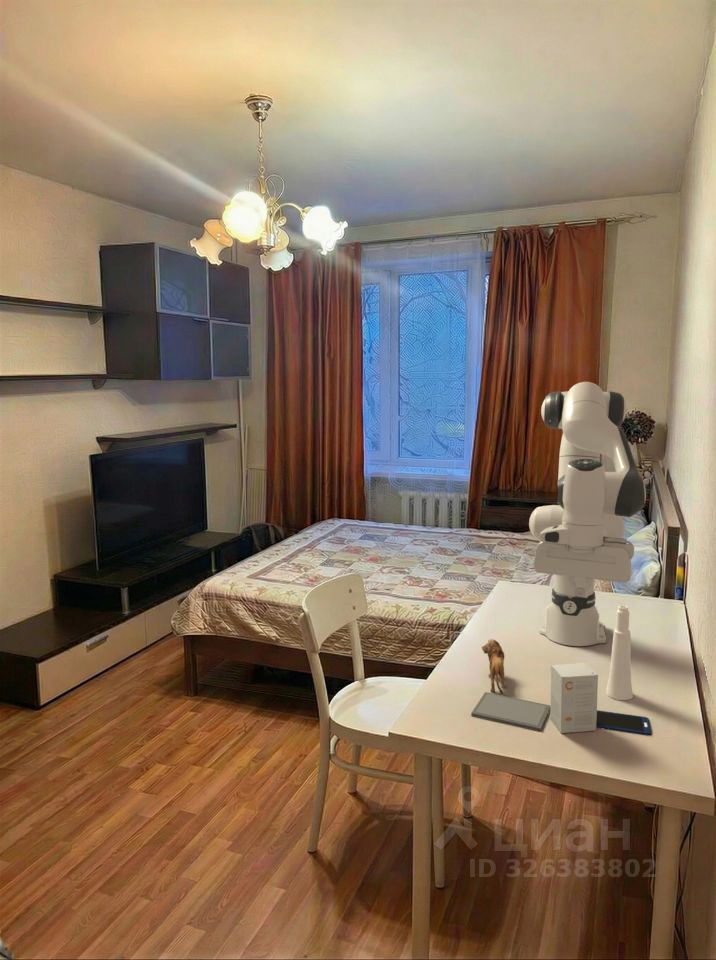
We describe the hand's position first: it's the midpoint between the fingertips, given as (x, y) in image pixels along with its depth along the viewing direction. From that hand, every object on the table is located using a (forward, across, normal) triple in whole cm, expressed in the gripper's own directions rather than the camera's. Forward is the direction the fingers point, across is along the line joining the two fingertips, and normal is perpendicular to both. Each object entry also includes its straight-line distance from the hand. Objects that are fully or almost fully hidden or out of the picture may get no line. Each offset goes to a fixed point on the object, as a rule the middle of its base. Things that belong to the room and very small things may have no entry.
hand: (580, 596), depth 143 cm
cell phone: (+29, -8, -2) cm, 30 cm away
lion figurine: (+28, +21, -9) cm, 36 cm away
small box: (+28, 0, +4) cm, 29 cm away
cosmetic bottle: (+28, -7, -15) cm, 33 cm away
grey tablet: (+28, +14, +4) cm, 31 cm away
